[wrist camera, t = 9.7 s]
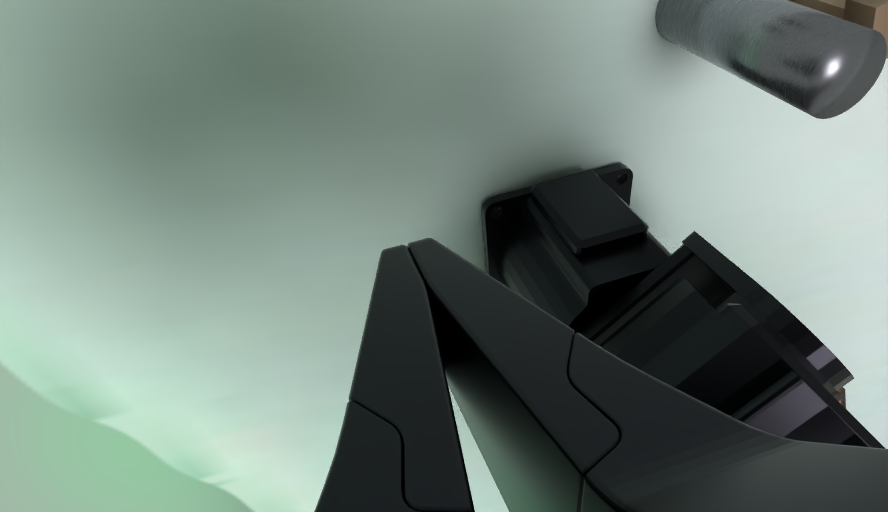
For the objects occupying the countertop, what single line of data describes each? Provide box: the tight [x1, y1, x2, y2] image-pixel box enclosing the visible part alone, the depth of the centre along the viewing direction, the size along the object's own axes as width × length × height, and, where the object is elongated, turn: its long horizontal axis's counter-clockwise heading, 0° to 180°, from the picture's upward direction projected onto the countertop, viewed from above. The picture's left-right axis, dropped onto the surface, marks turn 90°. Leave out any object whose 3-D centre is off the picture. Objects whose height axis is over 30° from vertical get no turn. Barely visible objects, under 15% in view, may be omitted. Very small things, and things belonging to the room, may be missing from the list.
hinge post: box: [656, 0, 887, 119], centre depth 18 cm, size 2×2×7 cm
